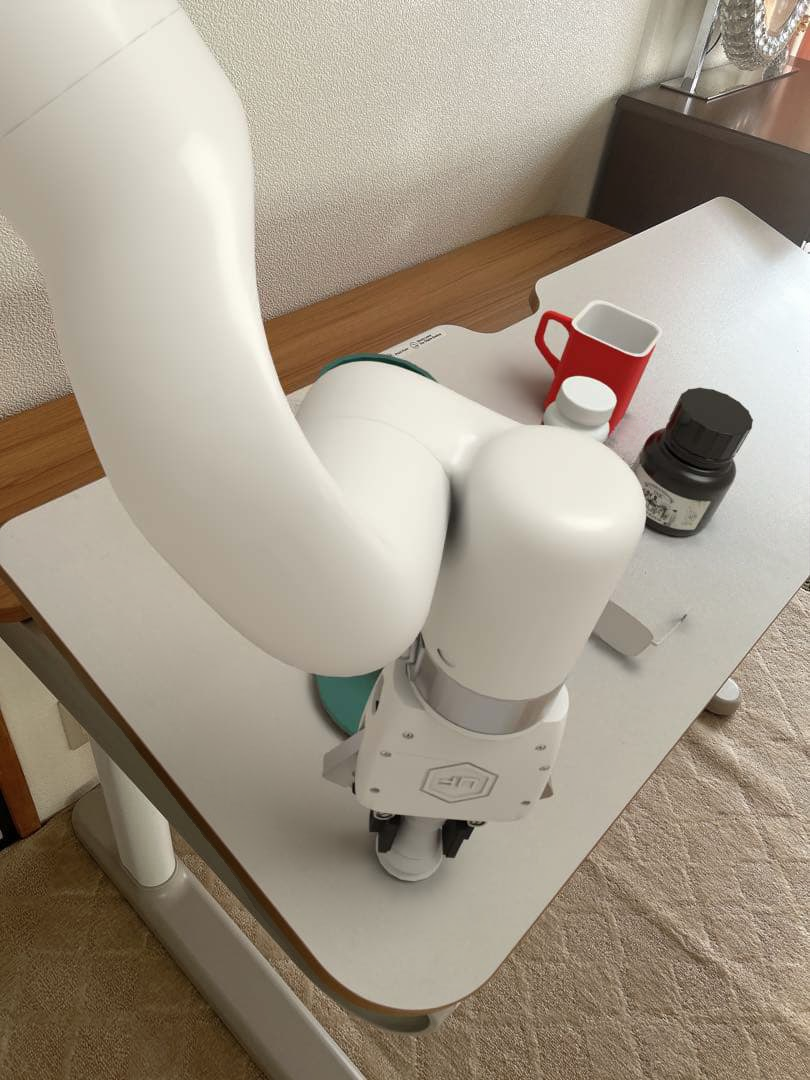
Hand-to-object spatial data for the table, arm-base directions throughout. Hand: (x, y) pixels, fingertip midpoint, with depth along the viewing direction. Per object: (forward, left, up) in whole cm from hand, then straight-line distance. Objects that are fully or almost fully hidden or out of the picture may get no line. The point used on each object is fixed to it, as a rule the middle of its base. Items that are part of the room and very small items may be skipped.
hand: (415, 831), depth 56 cm
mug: (-15, +54, -3) cm, 56 cm away
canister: (-24, +28, -3) cm, 37 cm away
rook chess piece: (0, 0, -3) cm, 3 cm away
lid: (-8, +10, -2) cm, 13 cm away
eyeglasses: (0, +30, -3) cm, 30 cm away
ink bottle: (0, +46, -3) cm, 46 cm away
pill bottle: (-10, +40, -3) cm, 41 cm away
